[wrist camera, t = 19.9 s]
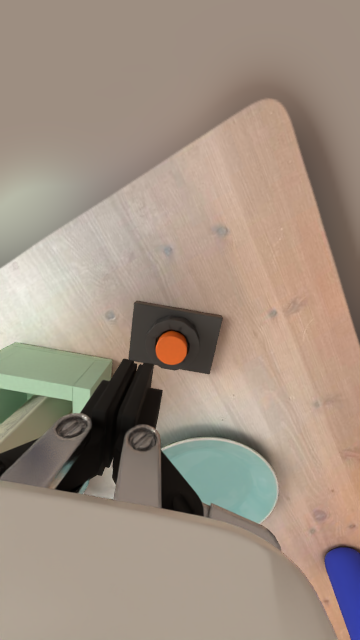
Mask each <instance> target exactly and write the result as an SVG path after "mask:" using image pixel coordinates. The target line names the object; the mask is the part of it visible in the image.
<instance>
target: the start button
mask: <svg viewBox="0 0 360 640" xmlns="http://www.w3.org/2000/svg"><path fill="white" fill-rule="evenodd" d="M186 354H187V341H186V339H185V337H184V336H183V335H182V334H181V333H179V332H176V331H168V332H165V333H164V334H162V335H161V336H160V338H159V340H158V342H157V345H156V355H157V357H158V358H159V360H161V361H162V362H163V363H165V364H169V365H175V364H178V363H180V362H182V361H183V360H184V358H185V357H186Z"/></svg>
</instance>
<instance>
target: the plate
mask: <svg viewBox="0 0 360 640" xmlns="http://www.w3.org/2000/svg"><path fill="white" fill-rule="evenodd" d="M161 450H162V451H163V453H164V454H165V455H166V456H167V458H168V459H169V460H170V461H171V462H172V464H173V465H174V466H175V467H176V469H177V470H178V471H179V472H180V474H181V475H182V476H183V477H184V478H185V480H186V481H187V482H188V483H189V485H190V486H191V487H192V488H193V490H194V491H195V492H196V493H197V495H198V496H199V498H200V499H201V501H202V502H203V503H205V504H207V505H210V504H211V503H213V504H215V505H218V506H220V507H222V508H224V509H227V510H229V511H231V512H233V513H236V514H238V515H240V516H242V517H245V518H247V519H249V520H251V521H254V522H256V523H258V524H261V523H262V522H263V521H264V520H265V519H266V518H267V517H268V516H269V515H270V514H271V513H272V511H273V509H274V508H275V506H276V503H277V500H278V496H279V484H278V480H277V476H276V474H275V472H274V470H273V468H272V467H271V465H270V464H269V463H268V462H267V460H266V459H265V458H264V457H263V456H262V455H260V454H259V453H258V452H257V451H255V450H254V449H252V448H250V447H248V446H246V445H244V444H242V443H240V442H237V441H233V440H230V439H225V438H219V437H196V438H189V439H185V440H181V441H177V442H175V443H172V444H169V445H167V446H165V447H163V448H161Z"/></svg>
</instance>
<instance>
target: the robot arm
mask: <svg viewBox="0 0 360 640" xmlns="http://www.w3.org/2000/svg"><path fill="white" fill-rule="evenodd" d="M153 368H154V364H151V363H145V362H144V363H143V365H141V364H140V365H139V367H138V369H137V364H136V363H134V360H128V359H123V360H122V362H121V364H120V365H119V367H118V368H117V370H116V372H115V373H114V375H113V377H112V378H111V380H110V381H107V380H102V381H101V383H100V384H99V386H98V387H97V388H96V390H95V391H94V393H93V394H92V396H91V397H90V399H89V400H88V402H87V403H86V405H85V406H84V408H83V409H82V411H81V412H80V413H72V414H68V415H65V416H63V417H61V418H60V419H58V420H57V421H56V422H55V423H54V424H53V425H52V426H51V427H50V428H49V429H48V430H47V431H46V432H45V433H44V434H43V435H42V436H41V437H40V438H38V439H35V440H33V441H30V442H28V443H25V444H23V445H20V446H18V447H15V448H13V449H10V450H8V451H5V452H3V453H0V640H338V638H337V636H336V633H335V631H334V629H333V626H332V624H331V622H330V620H329V618H328V615H327V613H326V611H325V609H324V607H323V605H322V603H321V601H320V599H319V597H318V595H317V593H316V591H315V590H314V588H313V586H312V585H311V583H310V582H309V580H308V579H307V577H306V576H305V574H304V573H303V572H302V571H301V570H300V568H299V567H298V566H297V565H296V564H295V563H294V562H293V561H292V560H291V559H289V558H288V557H287V556H286V555H285V554H284V553H282V551H281V547H280V545H279V543H278V541H277V539H276V537H275V536H274V535H273V534H272V533H271V532H270V531H269V530H268V529H267V528H265V527H264V526H262V525H260V524H258V523H256V522H254V521H251V520H249V519H247V518H245V517H242V516H240V515H238V514H236V513H233V512H231V511H229V510H227V509H224V508H222V507H220V506H218V505H215V504H213V503H211V504H210V505H207V504H205V503H203V502H202V501H201V499H200V498H199V496H198V495H197V493H196V492H195V491H194V490H193V488H192V487H191V486H190V485H189V483H188V482H187V481H186V480H185V478H184V477H183V476H182V475H181V474H180V472H179V471H178V470H177V469H176V467H175V466H174V465H173V464H172V462H171V461H170V460H169V459H168V458H167V456H166V455H165V454H164V453H163V451H162V450H161V439H160V434H159V433H158V431H157V430H156V424H157V419H158V414H159V409H160V403H161V397H162V391H163V390H159V389H153V388H151V381H152V374H153ZM136 370H137V371H136ZM112 459H113V475H112V478H113V480H114V482H115V484H116V488H115V494H114V500H112V499H106V498H101V497H95V496H89V495H83V493H84V492H85V490H86V488H87V486H88V484H89V480H90V479H91V478H93V477H95V476H96V475H101V476H102V474H103V471H104V469H105V467H107V468H109V467H110V465H111V462H112Z"/></svg>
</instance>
